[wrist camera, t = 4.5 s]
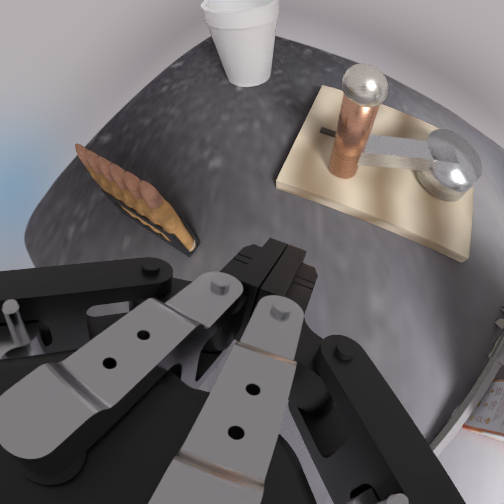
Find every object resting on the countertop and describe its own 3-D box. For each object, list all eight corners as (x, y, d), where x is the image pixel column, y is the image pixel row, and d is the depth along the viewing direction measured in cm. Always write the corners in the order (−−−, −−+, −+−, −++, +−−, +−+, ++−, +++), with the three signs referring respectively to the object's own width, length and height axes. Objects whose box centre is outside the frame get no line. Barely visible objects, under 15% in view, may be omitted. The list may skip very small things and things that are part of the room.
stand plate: (467, 152, 31) (472, 144, 30) (461, 263, 27) (469, 257, 25) (321, 93, 36) (322, 83, 34) (276, 188, 31) (276, 179, 29)
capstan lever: (455, 154, 29) (501, 81, 17) (472, 204, 27) (534, 136, 15) (322, 140, 30) (336, 42, 18) (329, 195, 28) (354, 95, 16)
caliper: (499, 305, 25) (534, 292, 19) (504, 310, 24) (539, 298, 18) (407, 470, 20) (434, 490, 14) (414, 473, 20) (441, 494, 14)
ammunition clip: (201, 242, 30) (159, 175, 18) (190, 258, 29) (141, 197, 18) (130, 198, 32) (77, 133, 21) (120, 211, 32) (63, 149, 21)
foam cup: (223, 59, 40) (209, -9, 28) (281, 58, 39) (279, -13, 27) (212, 94, 37) (193, 17, 25) (279, 94, 36) (277, 11, 24)
